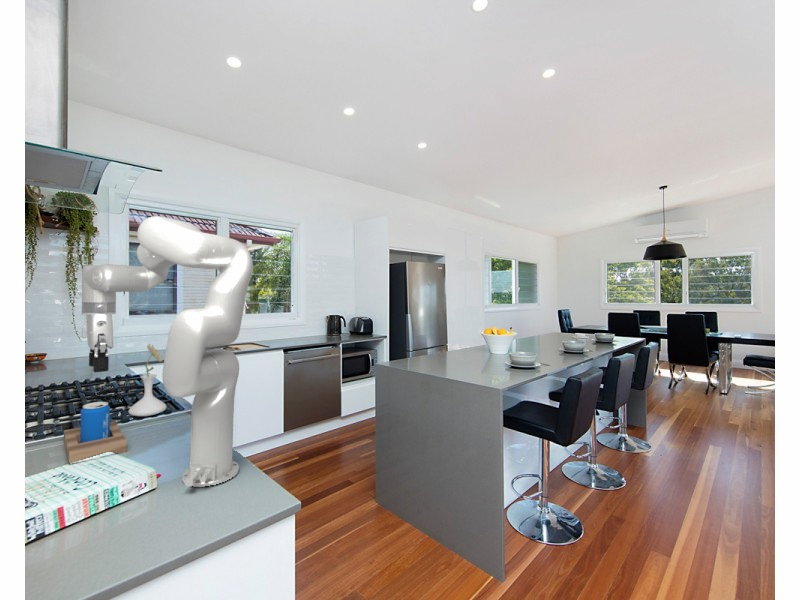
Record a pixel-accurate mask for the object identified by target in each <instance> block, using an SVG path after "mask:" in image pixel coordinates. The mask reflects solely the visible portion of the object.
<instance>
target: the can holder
mask: <svg viewBox="0 0 800 600" xmlns="http://www.w3.org/2000/svg"><path fill="white" fill-rule="evenodd" d="M63 442H64V443H63V444H64V447H65V453H66V457H67V461H69V462H68V464H69V463H72V462H75V461H79V460H83V459H86V458H90V457H93V456H96V455H100V454H103V453H106V452H113V453H119V454H122V453H121V452H123V453H127V452H128V441H127V439H126V437H125V436H124V434H123V432H122V431H121V429H120V427H119V425H118V423H117V422H116V420H114V421H110V437H108V438H103V439H99V440H94V441H89V442H84V443H80V427H76V428H71V429H64V430H63Z"/></svg>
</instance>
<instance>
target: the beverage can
mask: <svg viewBox="0 0 800 600" xmlns="http://www.w3.org/2000/svg"><path fill="white" fill-rule="evenodd" d="M110 420H111V407H110V405H109V402H107V401H97V402H90V403H87V404H84V405H82V408H81V410H80V427H79V428H80V443H84V442H89V441H94V440H99V439H103V438H108V437H110V422H111V421H110Z"/></svg>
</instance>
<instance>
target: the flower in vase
mask: <svg viewBox="0 0 800 600" xmlns="http://www.w3.org/2000/svg"><path fill="white" fill-rule="evenodd" d="M146 347H147V350H148V351H149V353H150V356H149V357H148V359H147V361H146V364H145V363H144V366H145V369H146V371H145V373H146V374H143V375H140V379H141V380H142V382H143V384H144V385H143V386H144V394H143V395H142V398H141V399H139V400H138V401H137V402H135V403H134V404H133V405H132V406H130V408H129V409H128V414H129V415H130V416H133V417H134V416H135V417H148V416H154V415H157V414H159V413H162V412H164V411H166V409H167V407H168V406H167V404H166V403H165V402H164V401H162V400H160V399H158V398H157V397H155V396H154V394H153V384H154V381H155V379H156V377H157V376H158V375H157V374H155V373H154V374H153V373H152V374H151V373H150V374H149V372H150V371H152V370H154V369H155V368H154V367H153V366H151V367H150V369H149V368H148V365H149V364H148V363H149V361H150V360H151V358H152V357H153V358H154V359H155V360H157V361H158V362H160V363H161V362H164V360H163V359H162V358H163V356H162V355H161V354H160V352H159V350H158V348H157V349H156V348H155V346H154V345H153V344H151V343H148V344H147V346H146Z"/></svg>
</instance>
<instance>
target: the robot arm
mask: <svg viewBox="0 0 800 600" xmlns="http://www.w3.org/2000/svg"><path fill="white" fill-rule="evenodd" d="M136 236H137V240H138V243H139V245H138V246H137V249H136V257H137V259H138V261H139V262H140V264H141V266H137V265H127V264H109V263H108V264H107V263H104V264H99V265H98V264H97V265H95V264H88V265H85V266H83V267H82V270H81V315H86V336H87V337H86V338H87V347H88V348H89V353H88V356H89V357H88V366H89V367H93V370H92V371H93V373H101V372H102V373H104V372H108V371H109V363H110V359H109V350H108V349H110V350H111V349H113V348H114V329H113V327H114V326H113V315H116V313H117V293H122V292H123V293H125V292H126V293H143V292H147V291H150V290H152V289H154V288H155V287H157V286H159V285H161V284H162V283H164V282H165V280H166V279H167V277H168V274H169V270H170V268H171V267H172V266H174V265H178V266H181V267H186V268H190V269H191V268H192V269H204V270H205V269H206V270H216V271H219V273H218V274H217V275H216V276H215V277H214V279H213V281H212V282H211V284H210V285H209V287H208V290H207V295H206V296H207V297H206V300H205V304H204V307H200V308H198V307H197V308H190V309H185V310H183V311H181V312H179V313H178V314H177V315H176V316H175V317H174V318H173V320H172V322H171V324H170V326H169V329H168V330H169V331H168V334H167V342H166V348H165V354H164V360H163V365H162V366H163V367H162V374H161V375H162V383H163V387H164V389H165V390H166V392H167V394H169V396H170V395H171V396H172V397H174V398H186V397H190V396H194V397H193V399H192V404H191V414H190V415H191V416H190V442H189V443H190V444H189V445H190V448H189V454H190V455H189V467H188V468H186V469H185V470H184V471H183V473H182V478H181V479H182V480H181V481H182V482H183V484H184V486H185V487H187V488H190V487H192V486H193V488H206V487H205V486H209V487H211V486H210V485H214V486H217V485H216V484H218V485H220V484H219V483H221V484H223V483H222V482H224V483H225V481H226V482H228V481H230V480H232V479H233V478H234V477H236V475H237V474H238V472H239V468H240V467H239V466H240V465H239V463H238V462H237V461H235V460H233V449H234V448H233V446H234V443H233V441H234V413H235V395H236V394H235V393H236V388H237V384H238V383H237V382H238V378H239V374H240V363H239V359H238V358H237V356H236V354H235V353H234V352H232V351H231V350H228V349H224V348H218V347H222V346H224V347H225V346H227V345H230V344H233V343H234V342H235V341H236V340H237V339H238V337H239V335H240V331H241V325H242V320H243V314H244V309H245V304H246V303H245V302H246V298H247V297H246V296H247V292H248V288H249V284H250V281H251V279H252V274H253V269H254V267H253V266H254V263H253V258H252V255H251V253H250V250H249V249H248V248H247V247H246V245H244V244H243V243H242V242H241V241H239V240H237V239H235V238H231V237H227V236H224V235H219V234H213V233H208V232H202V231H201V229H200V228H199V227H198V226H196V225H194V224H193V223H191V222H187V221H183V220H179V219H174V218H170V217H165V216H159V215H158V216H157V215H154V216H150V217H147V218H145V219H144V220H143V221H142V222H140V224H139V226H138V228H137V235H136ZM211 348H213V349H211ZM206 349H209V350H206ZM232 477H233V478H232ZM229 479H230V480H229ZM227 480H228V481H227Z"/></svg>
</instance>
